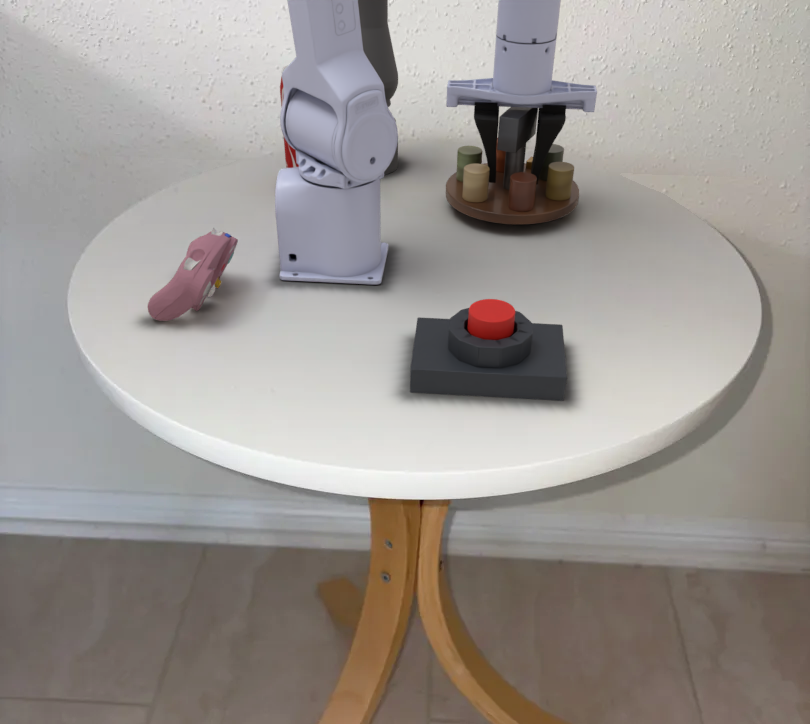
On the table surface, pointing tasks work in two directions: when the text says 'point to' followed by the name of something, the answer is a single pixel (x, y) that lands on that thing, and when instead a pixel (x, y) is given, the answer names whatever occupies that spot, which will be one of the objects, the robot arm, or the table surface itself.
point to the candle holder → (379, 51)
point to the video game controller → (194, 276)
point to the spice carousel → (513, 178)
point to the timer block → (488, 360)
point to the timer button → (491, 319)
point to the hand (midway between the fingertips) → (513, 180)
